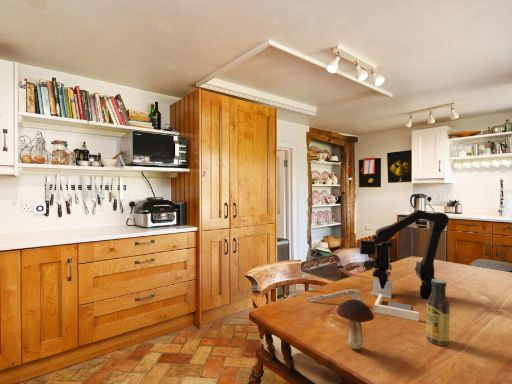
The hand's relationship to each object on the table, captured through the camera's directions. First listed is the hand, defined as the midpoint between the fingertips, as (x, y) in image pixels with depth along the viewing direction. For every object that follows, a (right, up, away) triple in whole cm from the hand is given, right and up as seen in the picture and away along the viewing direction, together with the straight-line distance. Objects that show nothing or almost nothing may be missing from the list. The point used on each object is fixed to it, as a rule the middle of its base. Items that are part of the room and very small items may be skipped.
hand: (382, 288), depth 134 cm
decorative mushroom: (-30, -3, -47) cm, 56 cm away
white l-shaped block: (-2, -3, -19) cm, 19 cm away
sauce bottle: (-2, -3, -43) cm, 44 cm away
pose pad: (-1, -3, -18) cm, 18 cm away
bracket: (-26, -3, -12) cm, 29 cm away
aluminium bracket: (-1, -2, -2) cm, 3 cm away
